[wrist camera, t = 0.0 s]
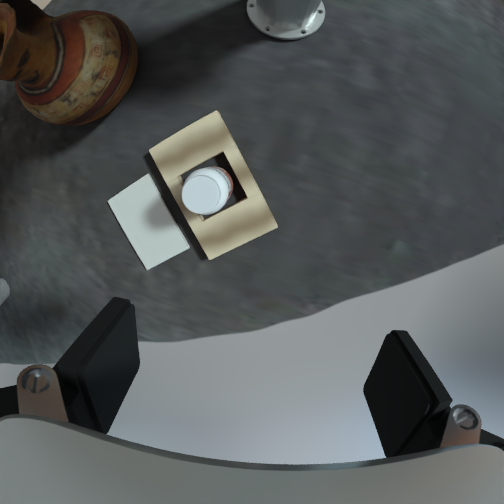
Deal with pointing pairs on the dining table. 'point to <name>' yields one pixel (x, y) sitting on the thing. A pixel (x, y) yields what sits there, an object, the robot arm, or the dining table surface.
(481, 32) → the dining table surface
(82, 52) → the ceramic pitcher
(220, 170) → the pill bottle
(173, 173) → the wooden rectangular frame
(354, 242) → the dining table surface
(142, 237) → the mat
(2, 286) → the house plant
